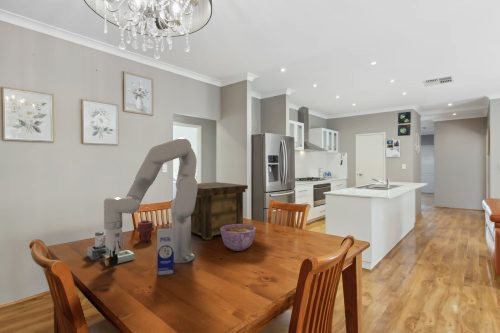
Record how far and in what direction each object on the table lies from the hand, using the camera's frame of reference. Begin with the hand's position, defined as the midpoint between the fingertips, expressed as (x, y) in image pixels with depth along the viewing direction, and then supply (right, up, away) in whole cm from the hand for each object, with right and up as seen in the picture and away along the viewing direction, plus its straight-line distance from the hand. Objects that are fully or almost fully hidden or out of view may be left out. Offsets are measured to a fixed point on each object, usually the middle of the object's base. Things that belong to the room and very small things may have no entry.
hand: (113, 264), depth 122 cm
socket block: (-15, -1, +15) cm, 22 cm away
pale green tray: (-1, -1, +11) cm, 11 cm away
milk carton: (+25, -2, -4) cm, 26 cm away
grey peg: (-15, -1, +15) cm, 22 cm away
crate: (+36, -1, +61) cm, 71 cm away
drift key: (-6, -1, +6) cm, 9 cm away
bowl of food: (+56, -1, +27) cm, 62 cm away
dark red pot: (-2, -1, +42) cm, 42 cm away
